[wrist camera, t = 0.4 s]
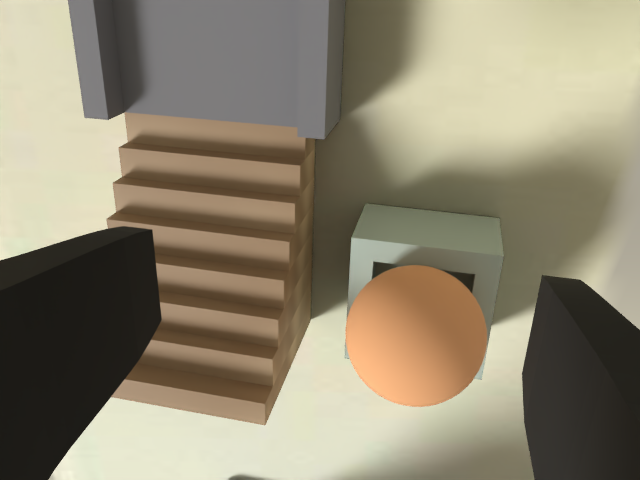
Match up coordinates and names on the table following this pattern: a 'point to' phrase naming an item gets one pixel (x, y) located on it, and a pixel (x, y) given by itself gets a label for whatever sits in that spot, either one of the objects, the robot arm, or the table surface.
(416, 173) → the table surface
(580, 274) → the table surface
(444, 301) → the ball
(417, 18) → the table surface
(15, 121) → the table surface
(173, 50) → the lane
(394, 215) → the hollow square container
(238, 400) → the staircase
